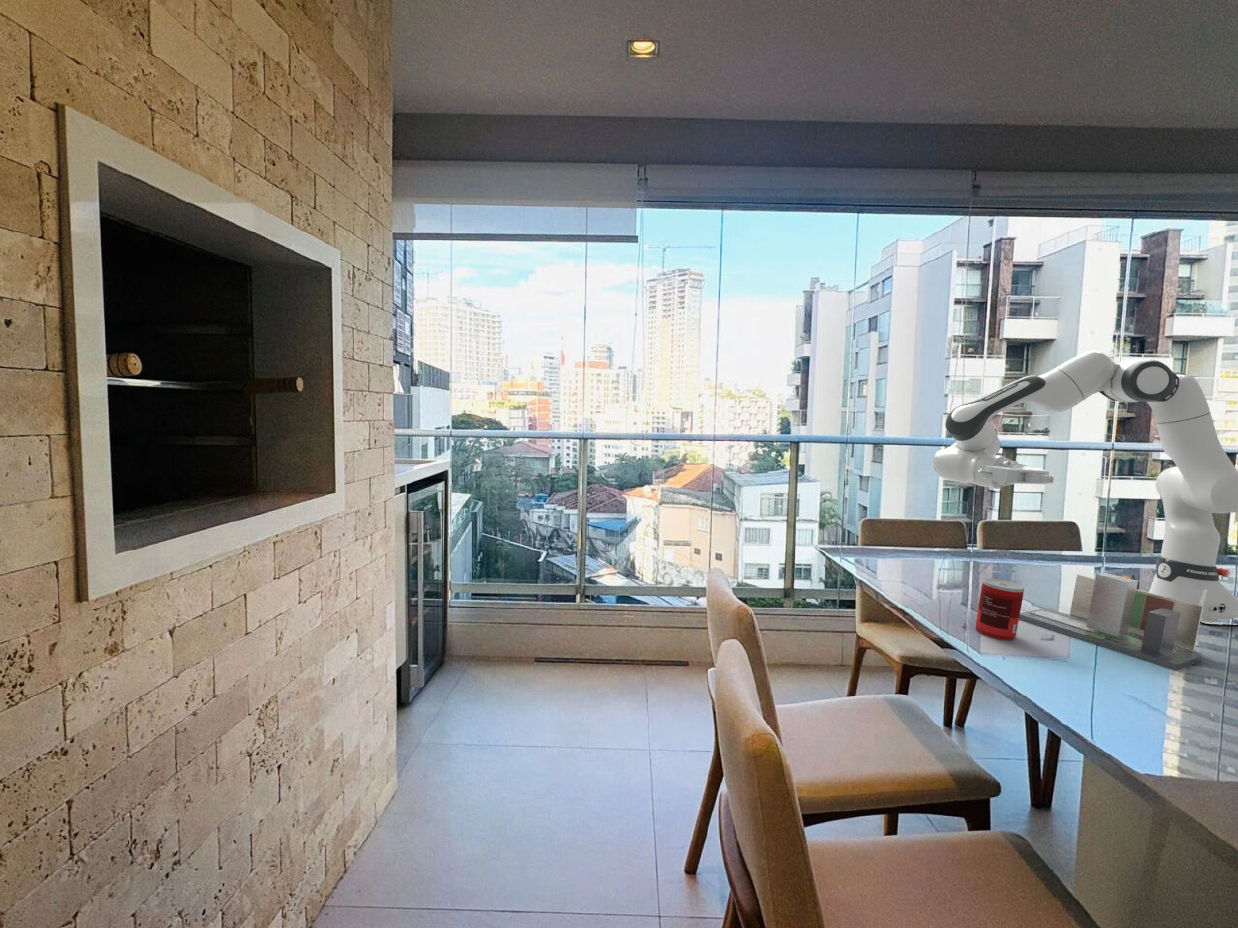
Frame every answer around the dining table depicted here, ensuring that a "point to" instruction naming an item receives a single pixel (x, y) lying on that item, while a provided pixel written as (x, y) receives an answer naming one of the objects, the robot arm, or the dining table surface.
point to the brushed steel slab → (1112, 604)
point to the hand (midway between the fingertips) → (1050, 480)
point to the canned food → (999, 608)
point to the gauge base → (1132, 626)
